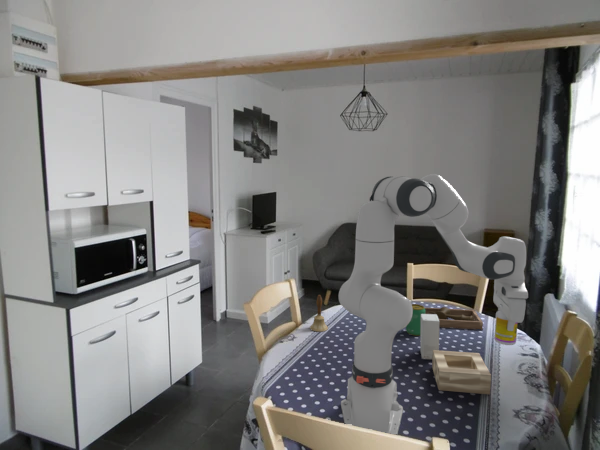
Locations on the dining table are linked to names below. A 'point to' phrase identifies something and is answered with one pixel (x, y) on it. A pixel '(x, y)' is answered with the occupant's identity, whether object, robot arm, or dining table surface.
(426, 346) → the skincare box
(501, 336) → the supplement bottle
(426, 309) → the walnut tray frame
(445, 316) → the kendama
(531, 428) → the dining table surface
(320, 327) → the hand bell
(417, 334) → the beverage can
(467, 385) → the birch tray frame
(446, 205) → the robot arm
